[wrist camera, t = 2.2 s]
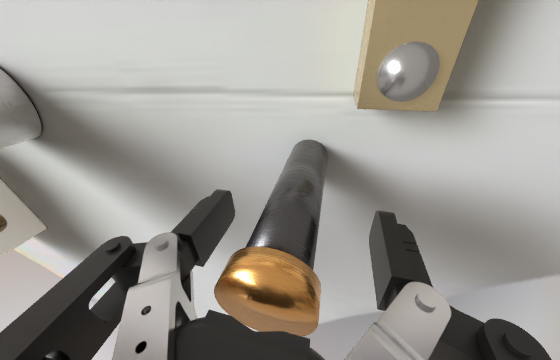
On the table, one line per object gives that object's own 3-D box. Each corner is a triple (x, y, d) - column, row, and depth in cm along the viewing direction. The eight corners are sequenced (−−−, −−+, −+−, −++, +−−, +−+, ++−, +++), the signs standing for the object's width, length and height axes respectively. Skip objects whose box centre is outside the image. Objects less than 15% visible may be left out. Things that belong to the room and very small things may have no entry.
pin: (287, 173, 20) (224, 321, 9) (287, 133, 18) (203, 265, 7) (329, 177, 19) (314, 347, 8) (334, 136, 17) (323, 292, 6)
